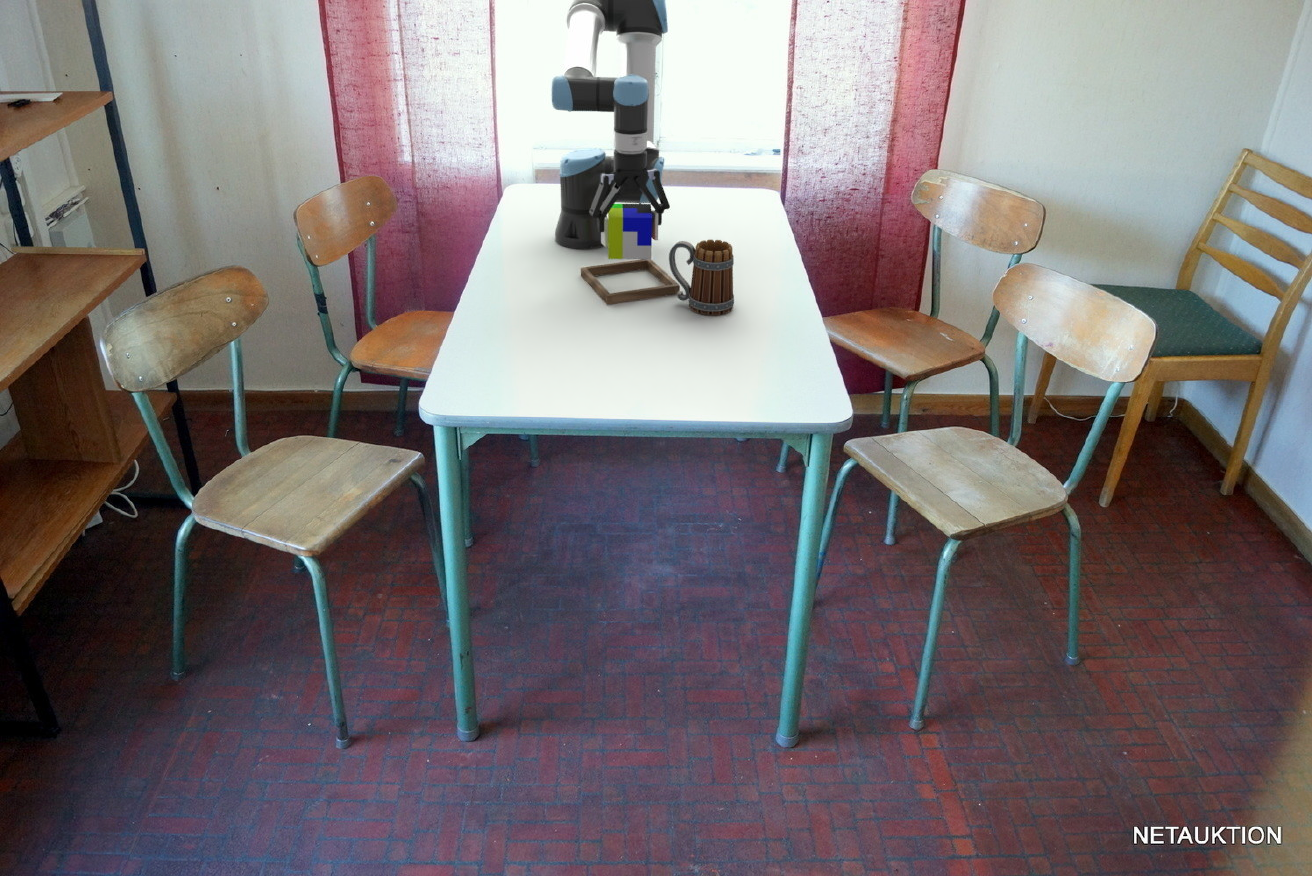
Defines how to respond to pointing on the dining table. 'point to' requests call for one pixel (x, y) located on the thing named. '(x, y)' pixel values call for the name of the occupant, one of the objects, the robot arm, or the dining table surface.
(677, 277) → the mug
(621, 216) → the puzzle toy
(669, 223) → the dining table surface
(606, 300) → the square wooden frame
